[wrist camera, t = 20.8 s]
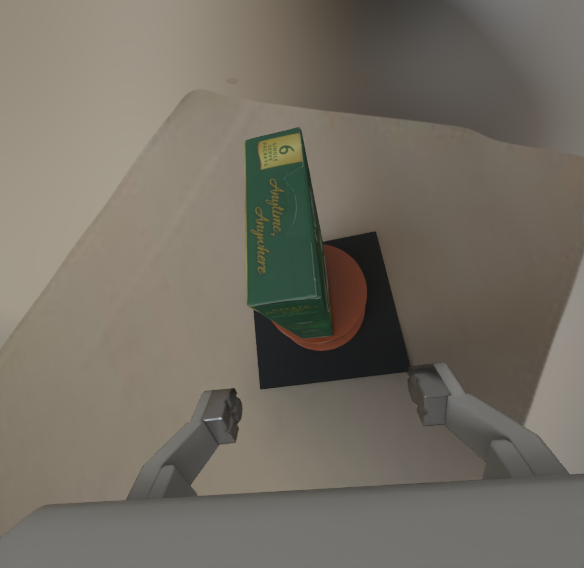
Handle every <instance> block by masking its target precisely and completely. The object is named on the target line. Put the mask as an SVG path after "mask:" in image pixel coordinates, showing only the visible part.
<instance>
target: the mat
mask: <svg viewBox="0 0 584 568" xmlns="http://www.w3.org/2000/svg"><path fill="white" fill-rule="evenodd" d="M323 244H325V245H330V246H333V247H336V248H338V249H340V250H342V251H344V252H345V253H347V254H348V255H350V256H351V257H352V258H353V259H354V260H355V261H356V263H357V264H358V265H359V267H360V268H361V270H362V272H363V274H364V277H365V280H366V285H367V300H366V305H365V315H364V319H363V322H362V325H361V327H360V329H359V330H358V332H357V333H356V335H355V336H354V337H353V338H352V339H351V340H350V341H349V342H347V343H346V344H344V345H343V346H341V347H339V348H336V349H333V350H328V351H315V350H310V349H307V348H304V347H302V346H300V345H298V344H297V343H295V342H294V341H293V340H292V339H291V338H289V337H288V336H286V335H285V334H283V333H282V332H281V331H280V330H279V329H278V328H277V327H276V326H275V325H274V324H273V322H272V321H271V320H270V319H269V318H267V317H266V316H264V315H262V314H261V313H259V312H257V311H255V310H254V320H255V332H256V344H257V356H258V368H259V380H260V389H268V388H276V387H284V386H292V385H301V384H309V383H317V382H325V381H334V380H342V379H350V378H358V377H367V376H375V375H383V374H391V373H400V372H407V368H408V367H409V366H410V364H409V360H408V356H407V352H406V348H405V344H404V340H403V337H402V333H401V329H400V325H399V321H398V317H397V313H396V309H395V305H394V301H393V297H392V293H391V289H390V285H389V281H388V277H387V274H386V270H385V266H384V262H383V258H382V254H381V250H380V246H379V242H378V238H377V234H376V231H375V232H370V233H365V234H360V235H355V236H350V237H345V238H340V239H335V240H330V241H325V242H323Z"/></svg>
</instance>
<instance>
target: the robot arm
mask: <svg viewBox="0 0 584 568" xmlns="http://www.w3.org/2000/svg"><path fill="white" fill-rule="evenodd" d="M407 373H408V375H409V379H408V380H407V381H408V389H409V393H410V396H411V398H412V401H413V402H414V403H415V404H416V405H417V413H418V415H419V417H420V420H421V422H422V424H423V426H434V425H445V426H446V427H447V428H448V429H449V430H450V431H451V432H452V433H454V434H455V435H456V436H457V437H458V438H459V439H460V440H461V441H463V442H464V443H465V444H466V445H467V446H468V447H469V448H471V449H472V450H473V451H474V452H475V453H476V454H477V455H478V456H480V457H481V458H482V459H483V460H484V461H485V462H486V466H485V470H484V474H483V478H482V480H469V481H451V482H434V483H417V484H399V485H382V486H364V487H346V488H328V489H311V490H294V491H277V492H259V493H242V494H225V495H207V496H197V493H196V492H195V491H194V489H193V488H192V487H191V486H190V485H191V484H192V482H193V481H194V480H195V478H196V477H197V475H198V474H199V473H200V471H201V470H202V468H203V467H204V466H205V464H206V463H207V461H208V460H209V459H210V457H211V456H212V454H213V453H214V452H215V450H216V449H217V447H218V446H219V445H220V444H229V443H236V439H237V434H238V430H239V428H238V426H237V424H238V422H239V421H240V420H241V417H242V403H241V400H240V399H239V398H238V397H236V394H237V392H236V390H235V388H231V389H220V390H210V391H204V392H203V393H202V395H201V397H200V400H199V402H198V404H197V407H196V409H195V411H194V414H193V416H192V419H191V421H190V422H189V423H186V424H185V425H184V426H183V427H182V428H181V429H180V430H179V431H178V432H177V433H176V434H175V435H174V436H173V437H172V438H171V439H170V440H169V441H168V442H167V443H166V444H165V445H164V446H163V447H162V448H161V449H160V450H159V451H158V452H157V453H156V454H155V455H154V456H153V457H152V458H151V459H150V460H149V461H148V462H147V463H146V464H145V465H144V466H143V467H142V469H141V471H140V473H139V475H138V477H137V479H136V481H135V483H134V485H133V487H132V489H131V491H130V493H129V495H128V497H127V499H126V500H120V501H102V502H84V503H66V504H49V505H44V506H42V507H40V508H38V509H36V510H35V511H33V512H32V513H31V514H29V515H28V516H27V517H25V518H24V519H23V520H21V521H20V522H19V523H18V524H16V525H15V526H14V527H13V528H11V529H10V530H9V531H8V532H6V533H5V534H4V535H3V536H1V537H0V568H584V474H573V475H570V474H569V473H568V472H567V470H566V469H565V468H564V467H563V465H562V464H561V463H560V462H559V460H558V459H557V458H556V457H555V455H554V454H553V453H552V452H551V450H550V449H549V448H548V447H547V445H546V444H545V443H544V442H543V440H542V439H541V438H540V437H539V436H538V435H537V434H535V433H533V432H532V431H530V430H529V429H527V428H525V427H524V426H522V425H520V424H519V423H517V422H516V421H514V420H512V419H511V418H509V417H507V416H506V415H504V414H503V413H501V412H499V411H498V410H496V409H494V408H493V407H491V406H489V405H488V404H486V403H485V402H483V401H481V400H480V399H478V398H476V397H475V396H473V395H472V394H466V393H465V391H464V390H463V388H462V387H461V385H460V384H459V382H458V381H457V379H456V378H455V376H454V375H453V373H452V372H451V370H450V369H449V367H448V366H447V364H446V363H445V362H441V363H433V364H424V365H417V366H409V367H408V368H407Z"/></svg>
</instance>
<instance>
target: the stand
mask: <svg viewBox="0 0 584 568" xmlns="http://www.w3.org/2000/svg"><path fill="white" fill-rule="evenodd" d="M323 248H324V255H325V263H326V271H327V279H328V288H329V297H330V304H331V315H332V325H333V336H328V337H319V338H307V339H302V338H300V337H299V336H297V335H295V334H293V333H292V332H290V331H289V330H287V329H285V328H283V327H282V326H280V325H279V324H277V323H275V322H274V321H272V320H271V321H272V322H273V324H274V325H275V326H276V327H277V328H278V329H279V330H280V331H281V332H282V333H283V334H285V335H286V336H288V337H289V338H291V339H292V340H293V341H294V342H295V343H297V344H298V345H300V346H302V347H304V348H307V349H310V350H315V351H328V350H333V349H336V348H339V347H341V346H343V345H344V344H346V343H347V342H349V341H350V340H351V339H352V338H353V337H354V336H355V335H356V333H357V332H358V330H359V329H360V327H361V325H362V322H363V319H364V315H365V305H366V300H367V285H366V280H365V277H364V274H363V272H362V270H361V268H360V267H359V265H358V264H357V263H356V261H355V260H354V259H353V258H352V257H351V256H350V255H348V254H347V253H345V252H344V251H342V250H340V249H338V248H336V247H333V246H330V245H325V244H323Z"/></svg>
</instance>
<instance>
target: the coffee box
mask: <svg viewBox="0 0 584 568" xmlns="http://www.w3.org/2000/svg"><path fill="white" fill-rule="evenodd" d="M244 150H245V229H246V287H247V305H248V306H249V307H250V308H252V309H254V310H255V311H257V312H259V313H261V314H262V315H264V316H266V317H267V318H269V319H270V320H272V321H274V322H275V323H277V324H279V325H280V326H282V327H283V328H285V329H287V330H289V331H290V332H292V333H293V334H295V335H297V336H299V337H300V338H302V339H307V338H319V337H328V336H333V325H332V315H331V304H330V297H329V288H328V279H327V271H326V263H325V255H324V248H323V242H322V236H321V230H320V225H319V220H318V215H317V210H316V205H315V200H314V194H313V189H312V184H311V178H310V172H309V168H308V163H307V157H306V152H305V147H304V141H303V136H302V131H301V129H300V127H296V128H293V129H290V130H286V131H282V132H278V133H273V134H269V135H264V136H260V137H256V138H252V139H249V140H246V141H245V144H244Z"/></svg>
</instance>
